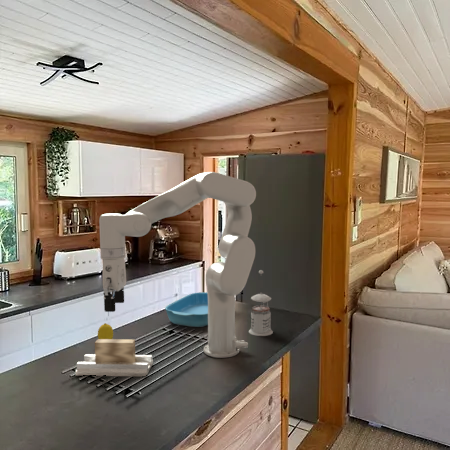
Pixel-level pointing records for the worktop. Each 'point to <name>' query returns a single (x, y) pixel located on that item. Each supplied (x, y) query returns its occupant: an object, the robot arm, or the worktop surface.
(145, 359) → the bottom track
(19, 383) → the worktop surface
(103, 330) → the lemon
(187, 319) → the casserole dish
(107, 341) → the tan wooden block
